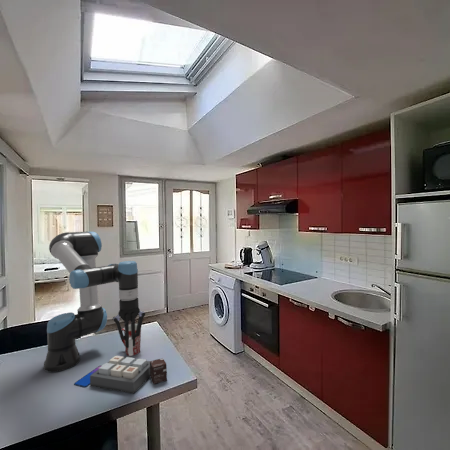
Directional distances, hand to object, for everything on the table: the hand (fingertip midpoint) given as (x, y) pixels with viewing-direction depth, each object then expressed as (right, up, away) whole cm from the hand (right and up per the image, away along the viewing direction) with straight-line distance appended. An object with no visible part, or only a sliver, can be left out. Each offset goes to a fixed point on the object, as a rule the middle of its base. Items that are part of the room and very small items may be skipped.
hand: (130, 354), depth 111 cm
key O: (-11, -10, +3) cm, 15 cm away
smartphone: (-19, -14, +7) cm, 25 cm away
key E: (+2, -10, +6) cm, 12 cm away
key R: (-4, -10, +8) cm, 13 cm away
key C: (0, -10, 0) cm, 10 cm away
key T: (-6, -10, +2) cm, 11 cm away
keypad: (-5, -13, +5) cm, 15 cm away
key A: (-10, -10, +10) cm, 17 cm away
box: (+11, -13, +4) cm, 17 cm away
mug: (-11, -13, +29) cm, 34 cm away
